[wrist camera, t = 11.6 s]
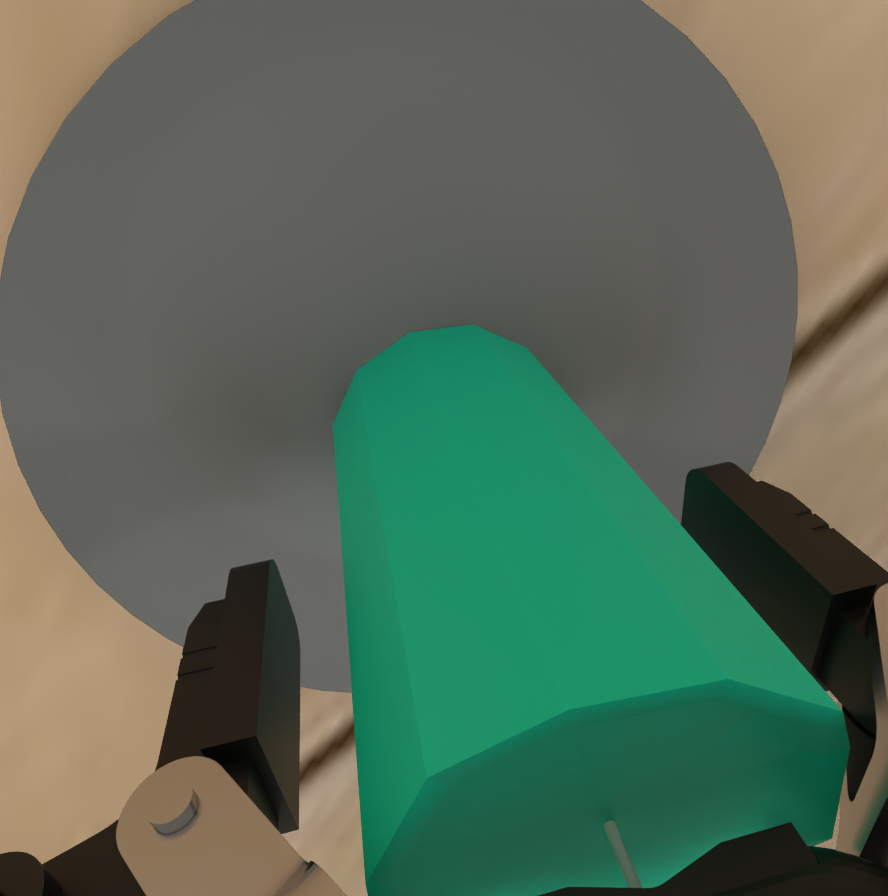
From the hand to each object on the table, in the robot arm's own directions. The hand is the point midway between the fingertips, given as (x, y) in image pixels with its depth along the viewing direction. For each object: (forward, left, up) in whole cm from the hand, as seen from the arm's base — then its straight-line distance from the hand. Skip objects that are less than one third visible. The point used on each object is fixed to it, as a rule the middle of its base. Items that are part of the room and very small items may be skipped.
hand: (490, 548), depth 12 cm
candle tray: (0, 0, -6) cm, 6 cm away
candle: (0, 0, -5) cm, 5 cm away
